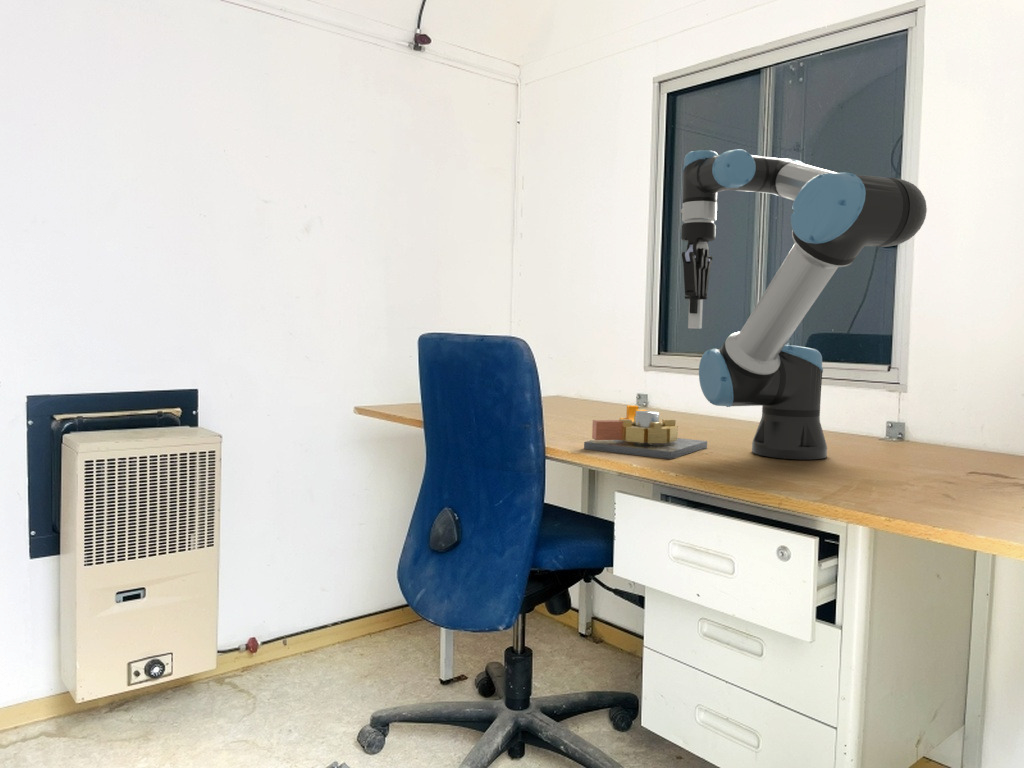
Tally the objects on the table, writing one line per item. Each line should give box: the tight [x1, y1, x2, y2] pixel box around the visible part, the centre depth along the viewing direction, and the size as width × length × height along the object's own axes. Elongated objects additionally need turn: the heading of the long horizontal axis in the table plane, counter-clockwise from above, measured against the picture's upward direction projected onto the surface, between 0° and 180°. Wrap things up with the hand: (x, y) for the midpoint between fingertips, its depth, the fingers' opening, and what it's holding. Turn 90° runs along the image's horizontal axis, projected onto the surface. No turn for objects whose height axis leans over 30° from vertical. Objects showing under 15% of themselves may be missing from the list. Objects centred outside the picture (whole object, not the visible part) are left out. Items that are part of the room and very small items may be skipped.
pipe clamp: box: [619, 405, 648, 422], centre depth 201 cm, size 12×4×6 cm, turn 4°
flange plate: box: [583, 410, 708, 460], centre depth 176 cm, size 20×20×8 cm
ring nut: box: [591, 416, 679, 443], centre depth 175 cm, size 18×12×4 cm
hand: (694, 328), depth 182 cm, fingers closed
